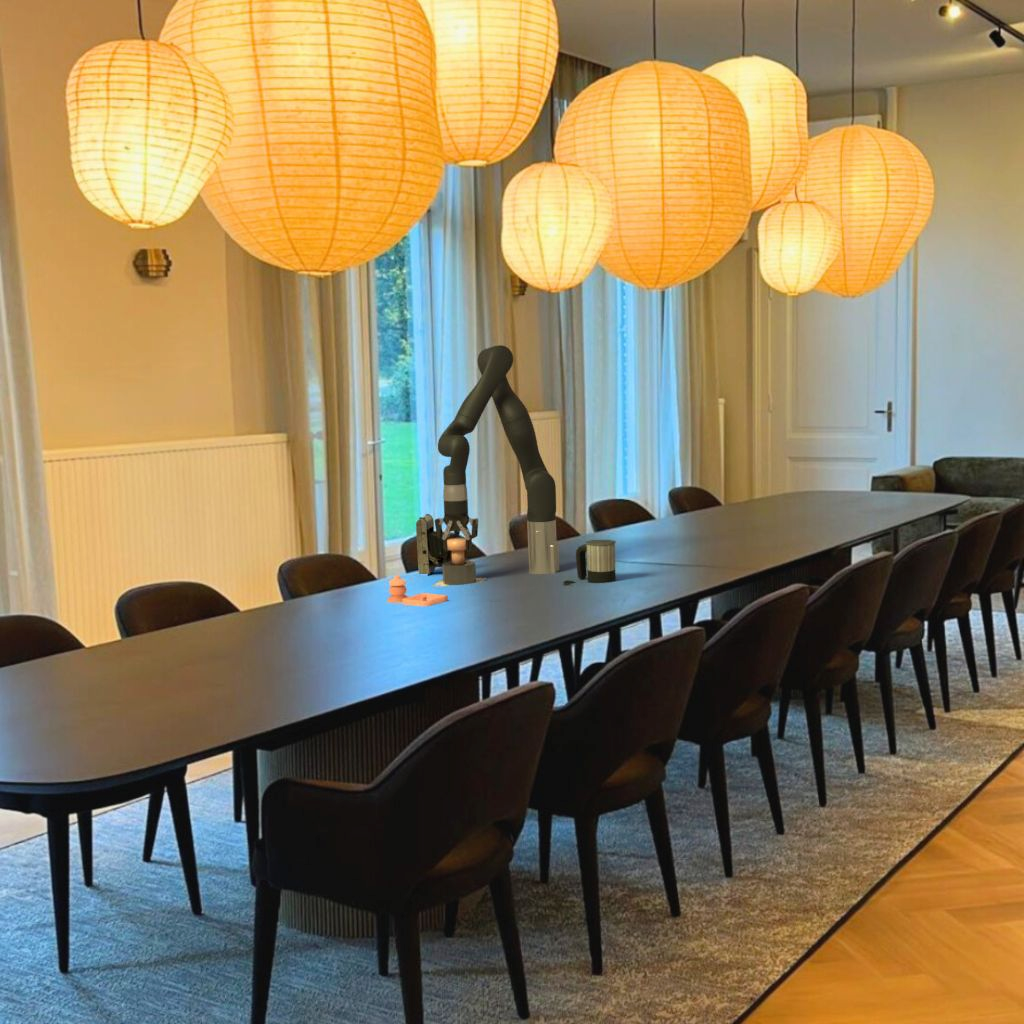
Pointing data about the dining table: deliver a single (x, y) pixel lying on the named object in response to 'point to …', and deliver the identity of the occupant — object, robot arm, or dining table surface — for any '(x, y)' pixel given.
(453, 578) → the squat olive cylinder
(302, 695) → the dining table surface
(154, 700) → the dining table surface
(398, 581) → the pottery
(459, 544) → the tan mushroom shaped knob
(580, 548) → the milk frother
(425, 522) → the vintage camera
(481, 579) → the birch board
